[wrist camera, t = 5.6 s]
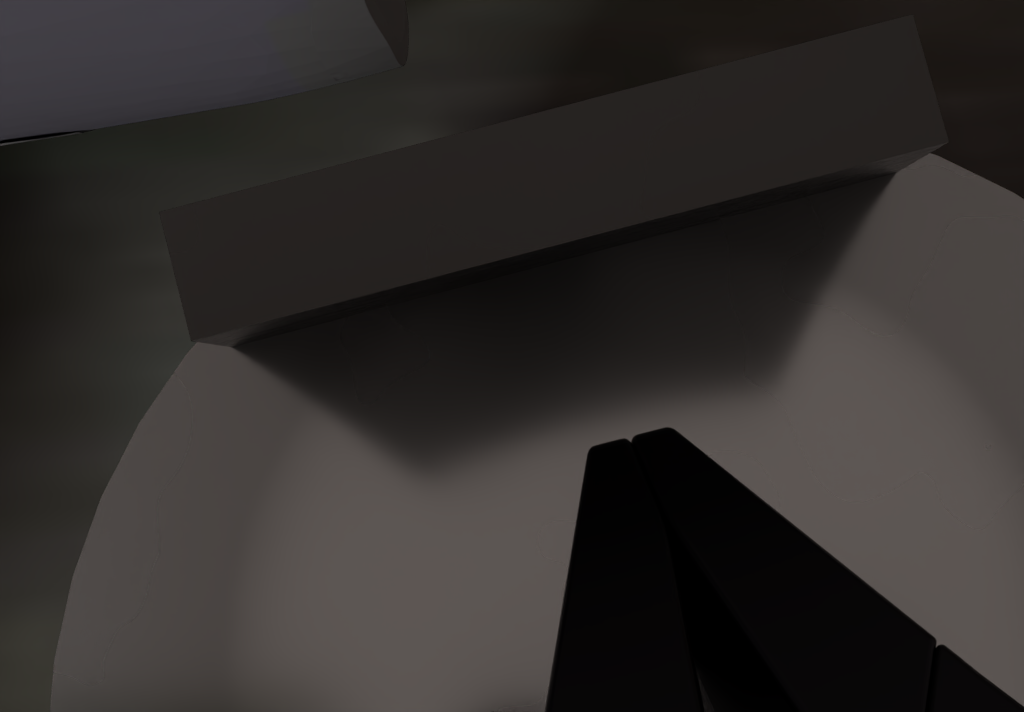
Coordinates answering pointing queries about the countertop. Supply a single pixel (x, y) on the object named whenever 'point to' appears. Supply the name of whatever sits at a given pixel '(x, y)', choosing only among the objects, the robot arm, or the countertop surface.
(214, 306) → the cooker lid
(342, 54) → the bluetooth speaker
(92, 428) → the countertop surface
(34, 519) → the countertop surface
